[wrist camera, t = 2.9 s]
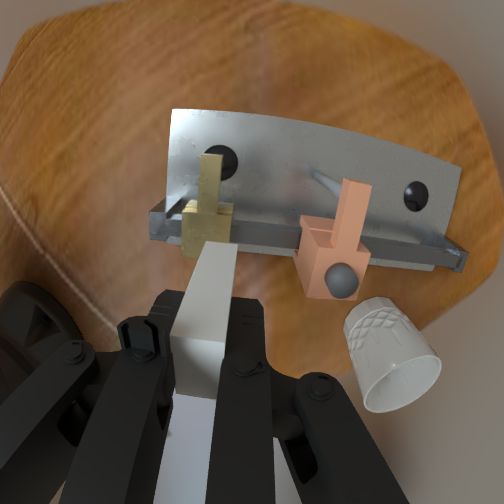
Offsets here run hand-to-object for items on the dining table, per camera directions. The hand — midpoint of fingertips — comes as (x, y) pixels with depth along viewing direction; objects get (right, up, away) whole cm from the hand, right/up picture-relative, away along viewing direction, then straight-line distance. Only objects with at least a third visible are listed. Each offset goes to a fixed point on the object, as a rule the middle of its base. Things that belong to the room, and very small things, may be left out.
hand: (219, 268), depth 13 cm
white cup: (+15, -7, +15) cm, 22 cm away
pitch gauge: (+8, +6, +9) cm, 13 cm away
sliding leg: (+6, +4, +8) cm, 11 cm away
